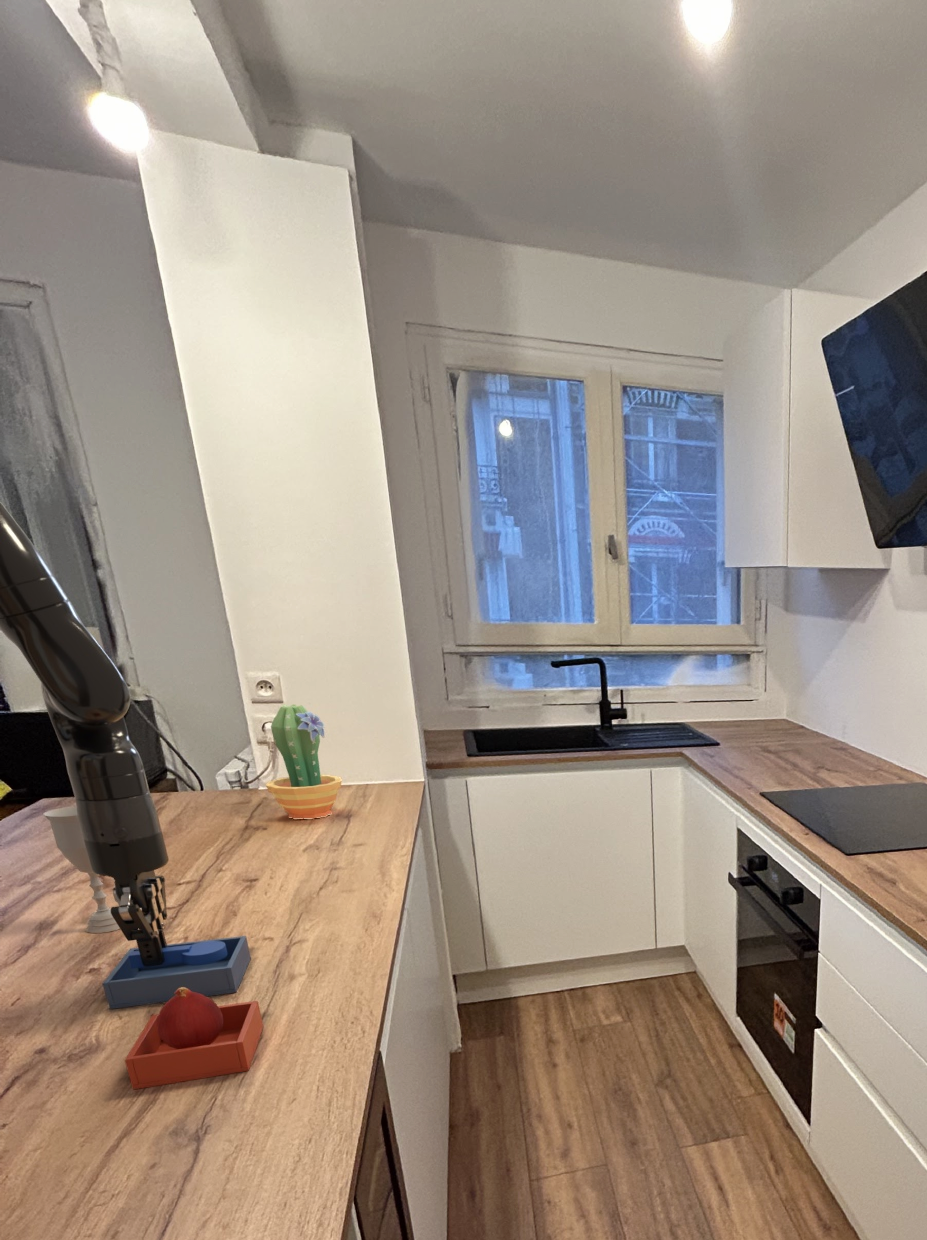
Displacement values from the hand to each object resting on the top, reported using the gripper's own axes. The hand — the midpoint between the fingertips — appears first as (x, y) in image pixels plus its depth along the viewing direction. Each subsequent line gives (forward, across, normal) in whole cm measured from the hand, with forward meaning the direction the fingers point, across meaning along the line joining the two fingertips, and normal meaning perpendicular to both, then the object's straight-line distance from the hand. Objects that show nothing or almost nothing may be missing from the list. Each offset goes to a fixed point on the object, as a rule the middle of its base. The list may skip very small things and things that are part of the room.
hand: (156, 961), depth 104 cm
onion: (+3, +22, +8) cm, 24 cm away
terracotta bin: (+3, +22, +8) cm, 24 cm away
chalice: (+4, -26, -13) cm, 29 cm away
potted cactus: (+4, -92, +8) cm, 92 cm away
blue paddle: (0, 0, +2) cm, 2 cm away
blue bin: (+3, 0, +2) cm, 4 cm away
